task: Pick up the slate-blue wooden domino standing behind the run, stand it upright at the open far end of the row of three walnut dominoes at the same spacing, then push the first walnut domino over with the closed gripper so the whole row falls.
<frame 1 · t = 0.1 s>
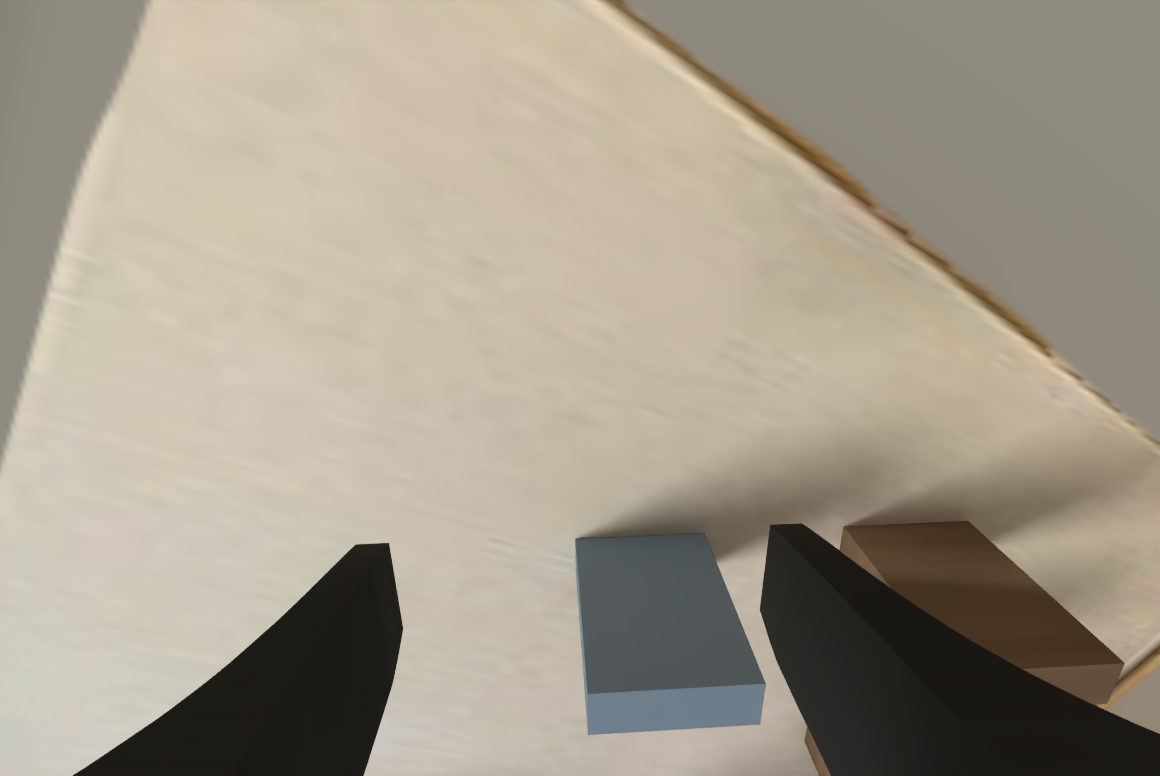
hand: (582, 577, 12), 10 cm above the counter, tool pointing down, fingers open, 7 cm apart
end domino: (639, 553, 24), on the counter
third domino: (902, 540, 24), on the counter
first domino: (859, 726, 28), on the counter
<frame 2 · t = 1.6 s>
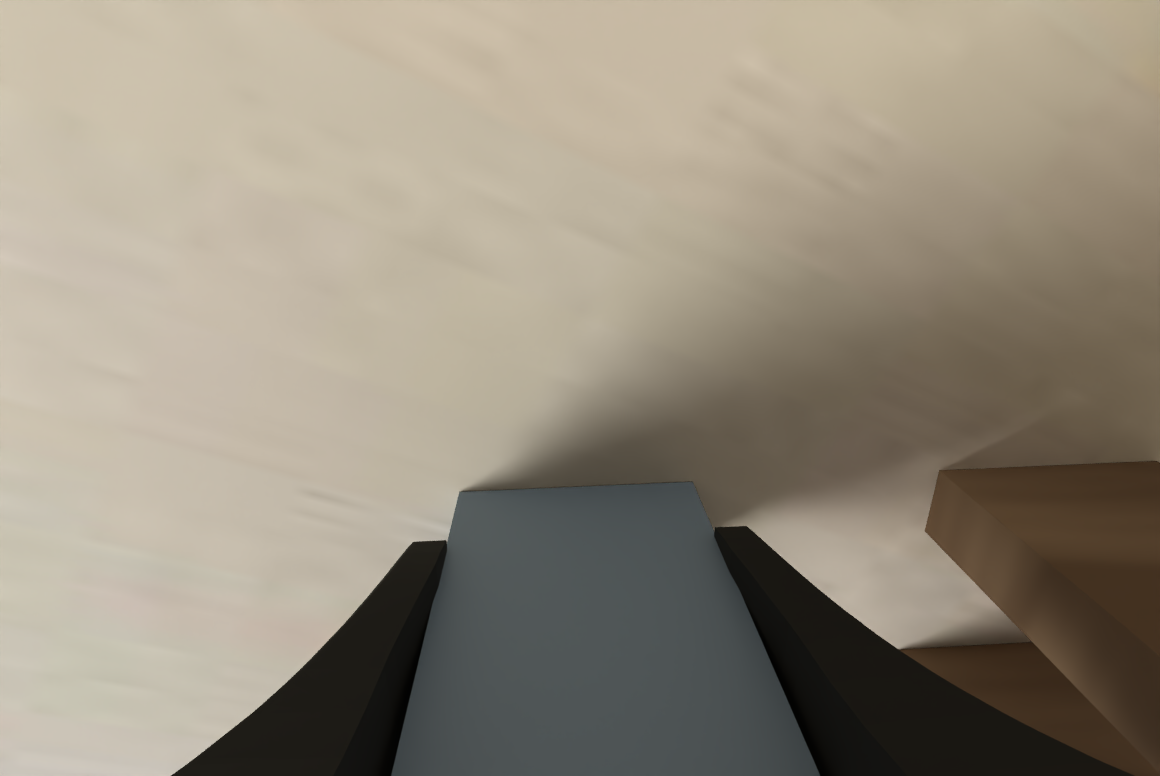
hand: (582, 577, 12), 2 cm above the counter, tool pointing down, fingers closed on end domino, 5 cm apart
end domino: (577, 518, 13), on the counter, touching gripper
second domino: (984, 667, 16), on the counter
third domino: (1039, 496, 14), on the counter
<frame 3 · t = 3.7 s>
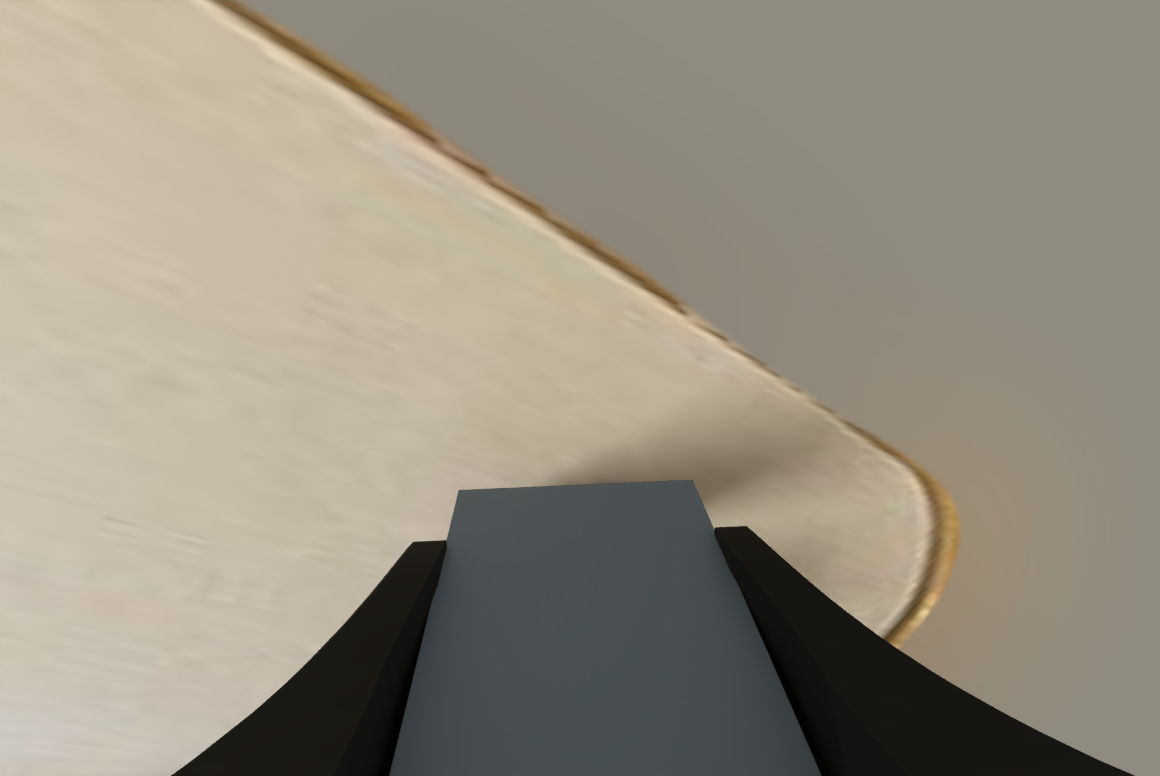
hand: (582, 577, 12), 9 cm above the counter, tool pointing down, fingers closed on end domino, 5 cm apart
end domino: (577, 516, 13), point 7 cm above the counter, touching gripper
when the fingers open (3 cm above the counter, at t = 5.7 s): end domino drops 1 cm, on the counter.
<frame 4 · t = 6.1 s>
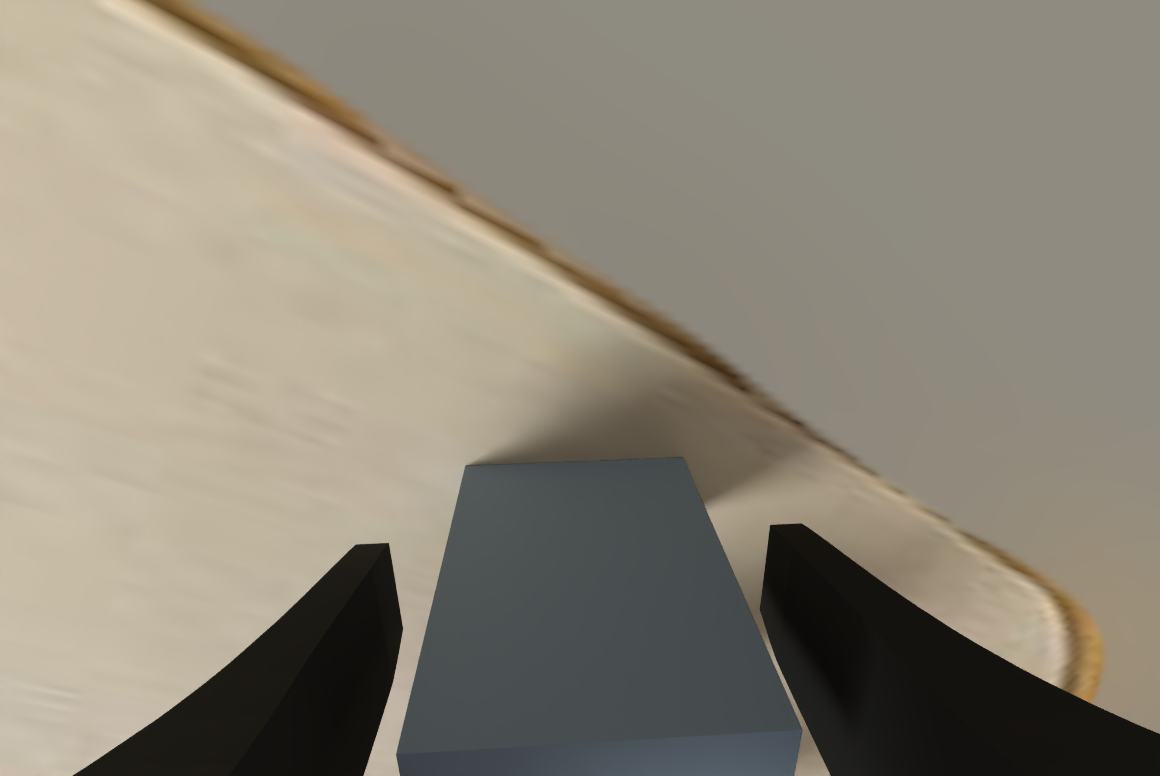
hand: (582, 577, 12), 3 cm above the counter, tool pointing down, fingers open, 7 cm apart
end domino: (575, 491, 14), on the counter
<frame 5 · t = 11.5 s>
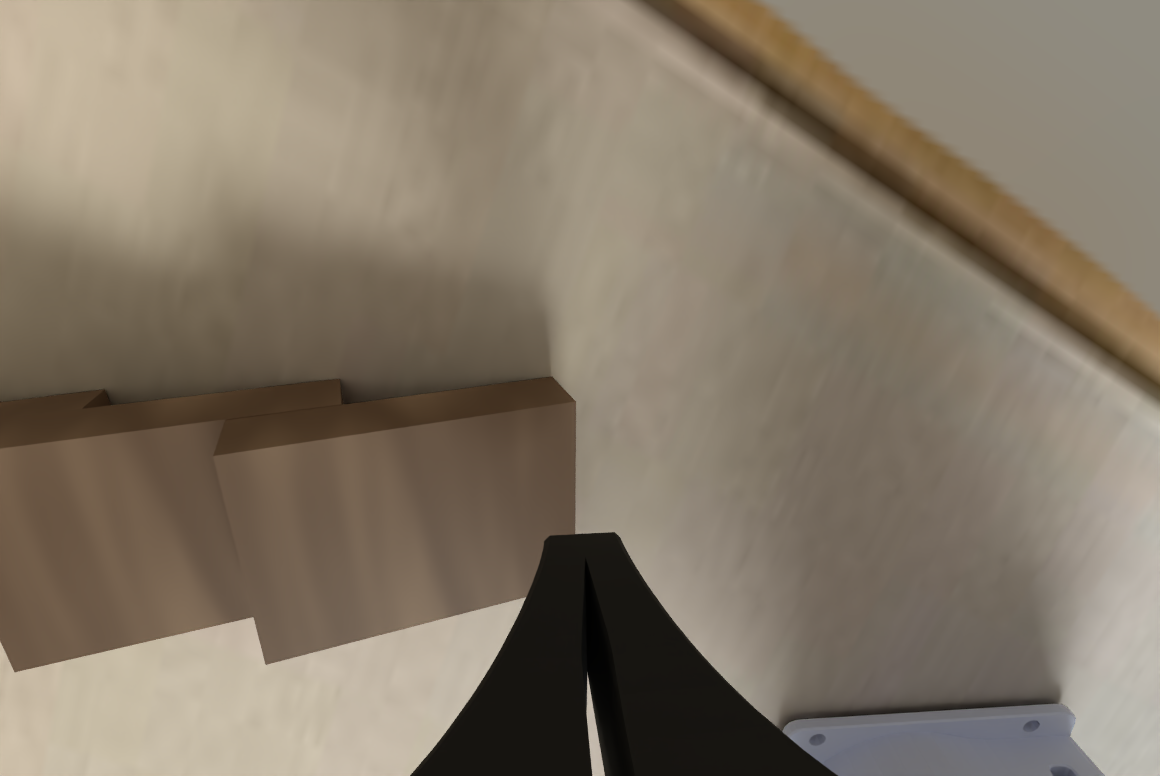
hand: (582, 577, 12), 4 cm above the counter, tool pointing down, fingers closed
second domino: (354, 486, 15), point 1 cm above the counter, tilted 72°, touching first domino
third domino: (126, 498, 14), point 1 cm above the counter, tilted 78°, touching end domino
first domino: (563, 482, 15), point 1 cm above the counter, tilted 72°, touching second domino
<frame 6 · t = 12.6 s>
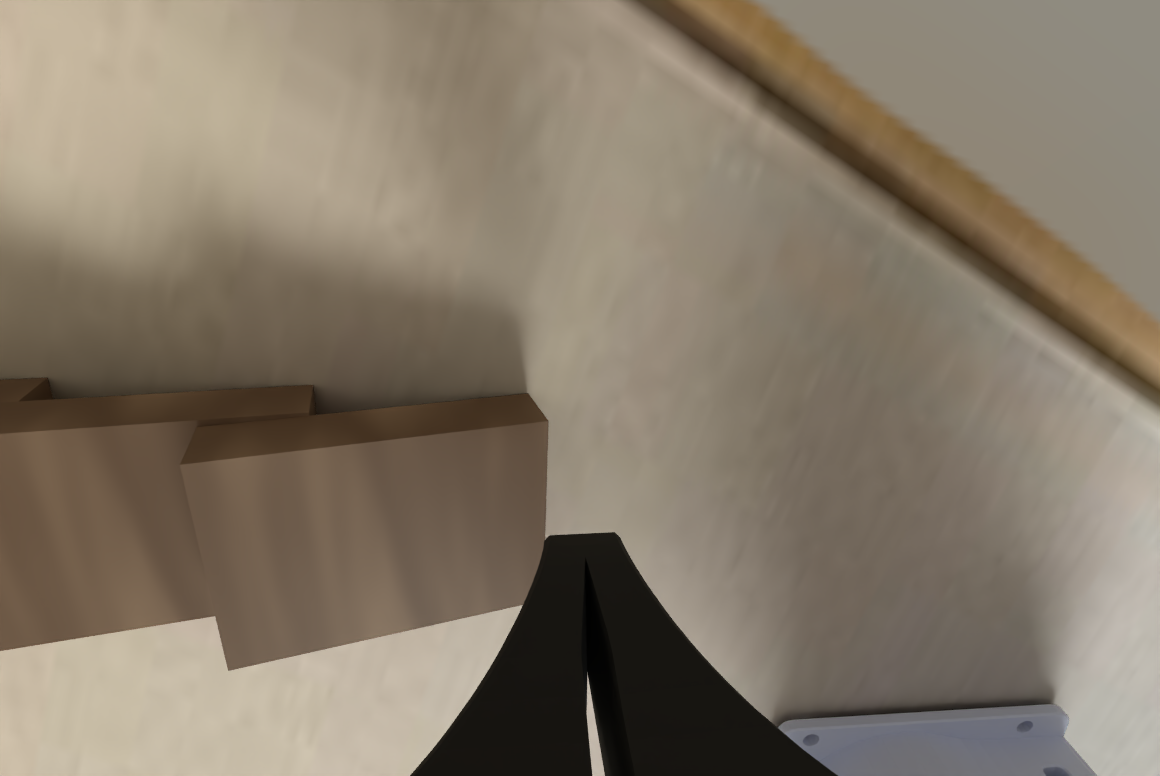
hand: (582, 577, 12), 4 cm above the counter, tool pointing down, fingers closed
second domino: (321, 492, 15), point 1 cm above the counter, tilted 74°, touching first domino, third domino
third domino: (60, 489, 14), point 1 cm above the counter, tilted 74°, touching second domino
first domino: (535, 498, 15), point 1 cm above the counter, tilted 73°, touching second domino
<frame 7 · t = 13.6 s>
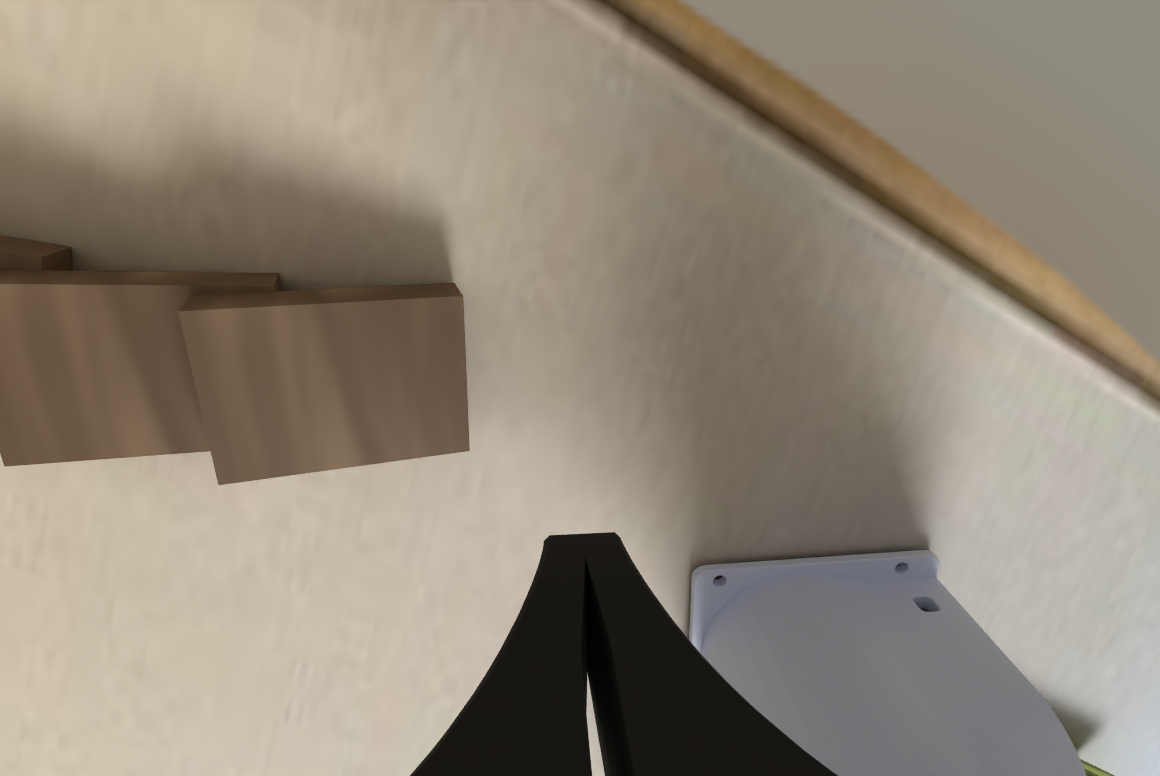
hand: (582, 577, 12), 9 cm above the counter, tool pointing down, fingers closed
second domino: (284, 360, 19), point 1 cm above the counter, tilted 74°, touching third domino
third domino: (60, 336, 18), point 1 cm above the counter, tilted 79°, touching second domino
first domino: (461, 368, 19), point 1 cm above the counter, tilted 73°
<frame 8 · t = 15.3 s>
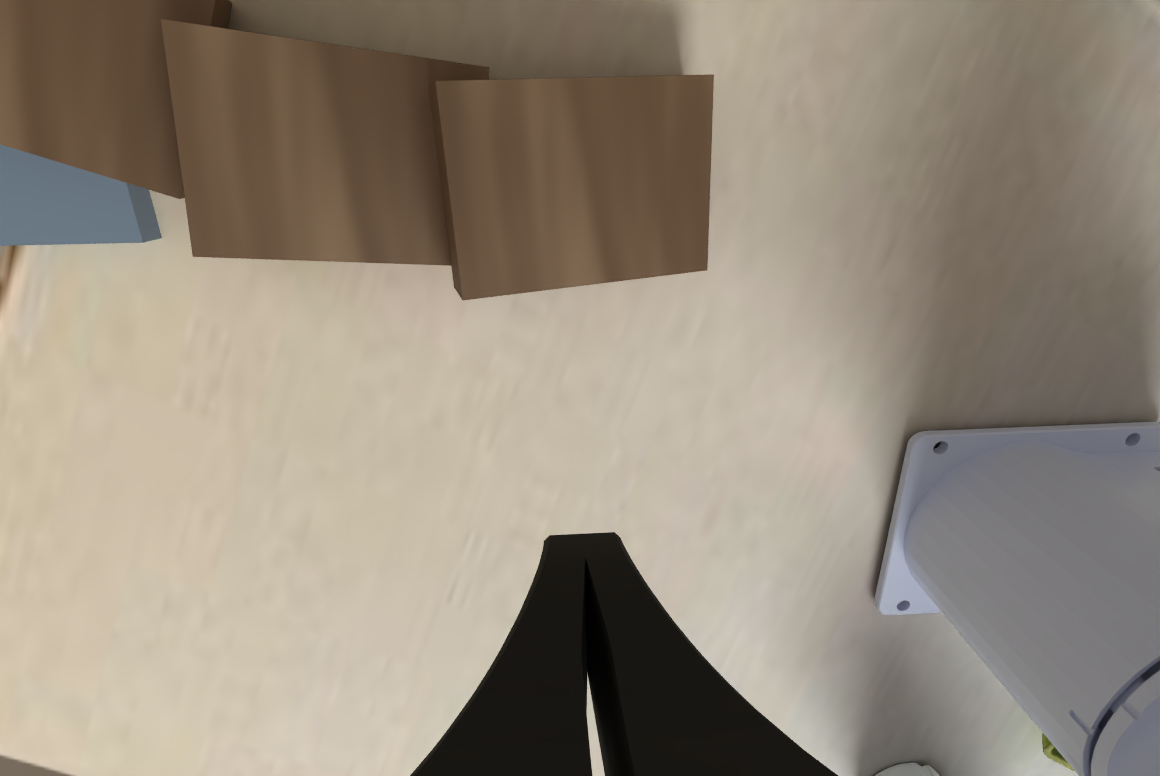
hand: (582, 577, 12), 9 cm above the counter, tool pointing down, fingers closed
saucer: (1136, 682, 28), on the counter
end domino: (134, 145, 17), on the counter, tilted 90°
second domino: (479, 170, 17), point 1 cm above the counter, tilted 74°, touching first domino
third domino: (206, 100, 16), point 1 cm above the counter, tilted 77°
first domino: (695, 176, 17), point 1 cm above the counter, tilted 75°, touching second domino
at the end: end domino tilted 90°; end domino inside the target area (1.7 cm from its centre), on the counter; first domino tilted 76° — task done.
